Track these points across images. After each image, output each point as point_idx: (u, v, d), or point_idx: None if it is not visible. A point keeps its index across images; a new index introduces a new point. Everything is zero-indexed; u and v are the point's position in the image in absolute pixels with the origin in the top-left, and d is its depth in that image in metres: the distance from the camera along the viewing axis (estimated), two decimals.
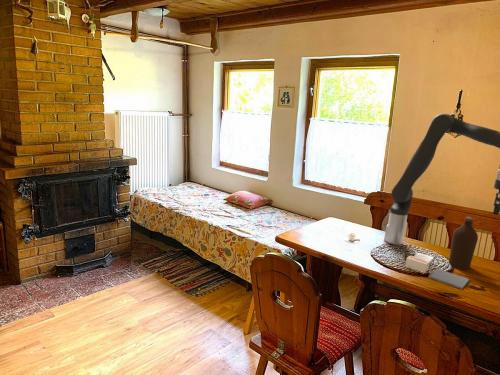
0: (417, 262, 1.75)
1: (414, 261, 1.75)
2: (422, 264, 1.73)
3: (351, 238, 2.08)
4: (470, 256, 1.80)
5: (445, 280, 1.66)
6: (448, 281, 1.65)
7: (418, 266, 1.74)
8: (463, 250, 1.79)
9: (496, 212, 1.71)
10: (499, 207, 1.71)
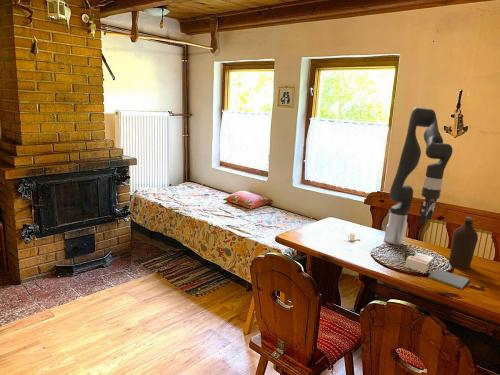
0: (417, 262, 1.74)
1: (414, 261, 1.75)
2: (422, 264, 1.73)
3: (351, 238, 2.08)
4: (470, 256, 1.80)
5: (445, 280, 1.66)
6: (448, 281, 1.65)
7: (418, 266, 1.74)
8: (463, 250, 1.79)
9: (422, 220, 1.68)
10: None
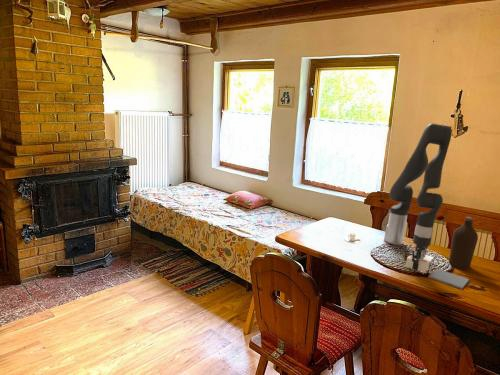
0: None
1: None
2: (422, 264, 1.73)
3: (351, 238, 2.07)
4: (470, 256, 1.80)
5: (445, 280, 1.66)
6: (448, 281, 1.65)
7: (418, 266, 1.74)
8: (463, 250, 1.79)
9: (415, 267, 1.74)
10: None
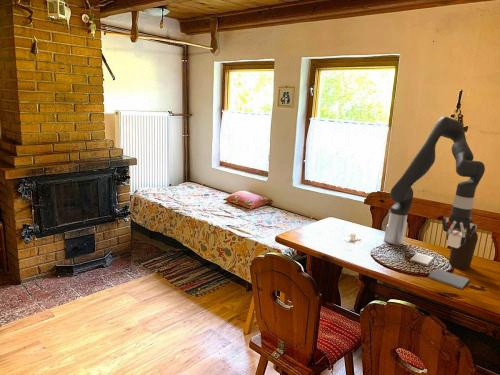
0: None
1: None
2: (449, 235, 1.63)
3: (352, 238, 2.07)
4: (470, 256, 1.80)
5: (445, 280, 1.66)
6: (448, 281, 1.65)
7: None
8: (463, 250, 1.79)
9: None
10: (449, 233, 1.65)
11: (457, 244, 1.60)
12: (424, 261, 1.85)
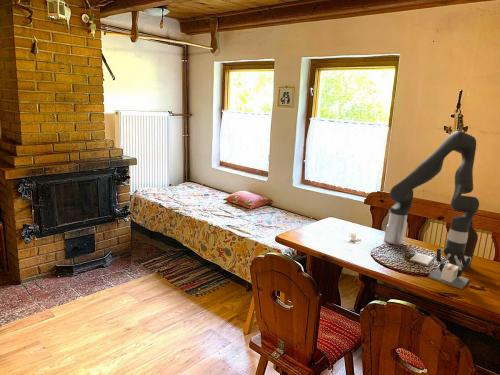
0: (445, 267, 1.69)
1: None
2: None
3: (352, 238, 2.07)
4: (470, 256, 1.80)
5: (445, 280, 1.66)
6: None
7: None
8: None
9: None
10: (442, 264, 1.69)
11: (451, 278, 1.64)
12: (424, 261, 1.84)
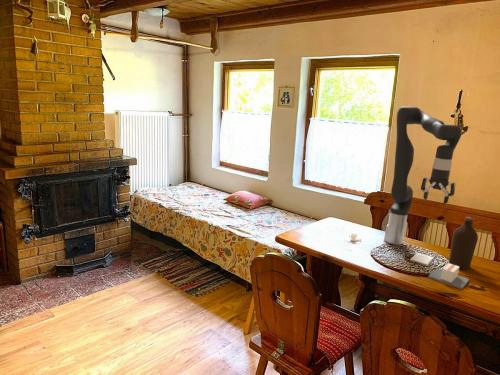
0: (445, 267, 1.69)
1: None
2: None
3: (352, 239, 2.07)
4: (470, 256, 1.80)
5: (445, 280, 1.66)
6: None
7: None
8: (463, 250, 1.79)
9: None
10: (426, 192, 1.78)
11: (451, 278, 1.64)
12: (424, 261, 1.84)
